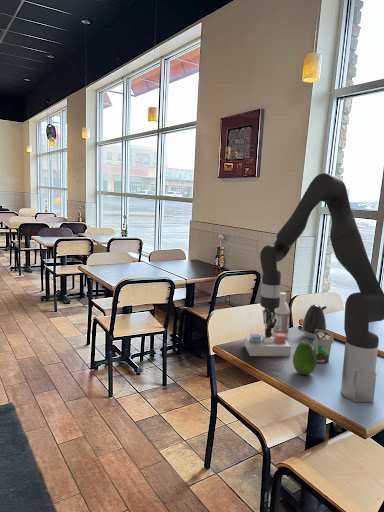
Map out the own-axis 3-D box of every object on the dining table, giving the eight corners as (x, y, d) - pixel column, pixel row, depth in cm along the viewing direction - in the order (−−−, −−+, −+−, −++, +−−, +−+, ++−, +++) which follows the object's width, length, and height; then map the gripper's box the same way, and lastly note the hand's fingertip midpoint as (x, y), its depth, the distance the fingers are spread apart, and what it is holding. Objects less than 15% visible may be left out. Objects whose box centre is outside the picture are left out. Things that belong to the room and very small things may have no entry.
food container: (334, 367, 136) (336, 341, 134) (317, 365, 137) (319, 339, 136) (329, 354, 148) (331, 330, 146) (313, 352, 149) (315, 328, 148)
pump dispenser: (330, 341, 162) (333, 307, 159) (309, 342, 159) (311, 308, 157) (317, 332, 172) (320, 301, 169) (297, 334, 169) (299, 302, 167)
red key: (284, 346, 148) (285, 336, 147) (276, 346, 147) (277, 336, 147) (282, 343, 151) (283, 333, 150) (274, 343, 151) (274, 333, 150)
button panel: (290, 356, 145) (291, 346, 144) (249, 356, 144) (250, 346, 143) (282, 346, 155) (283, 337, 154) (244, 345, 154) (245, 336, 153)
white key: (272, 348, 147) (273, 338, 147) (264, 348, 147) (264, 338, 147) (270, 345, 151) (270, 335, 150) (262, 345, 151) (262, 335, 150)
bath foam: (286, 340, 161) (289, 295, 158) (270, 337, 164) (273, 293, 161) (289, 335, 167) (292, 292, 164) (273, 332, 170) (276, 290, 167)
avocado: (287, 372, 131) (289, 340, 129) (302, 367, 135) (304, 335, 134) (305, 381, 125) (307, 347, 123) (320, 376, 129) (323, 343, 127)
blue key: (260, 347, 147) (260, 336, 146) (251, 347, 147) (252, 336, 146) (258, 344, 150) (258, 333, 150) (249, 344, 150) (250, 333, 150)
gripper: (284, 299, 140) (281, 343, 142) (275, 290, 153) (272, 330, 155) (265, 299, 139) (262, 342, 142) (257, 290, 152) (255, 330, 155)
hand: (267, 336), depth 149 cm, fingers closed
